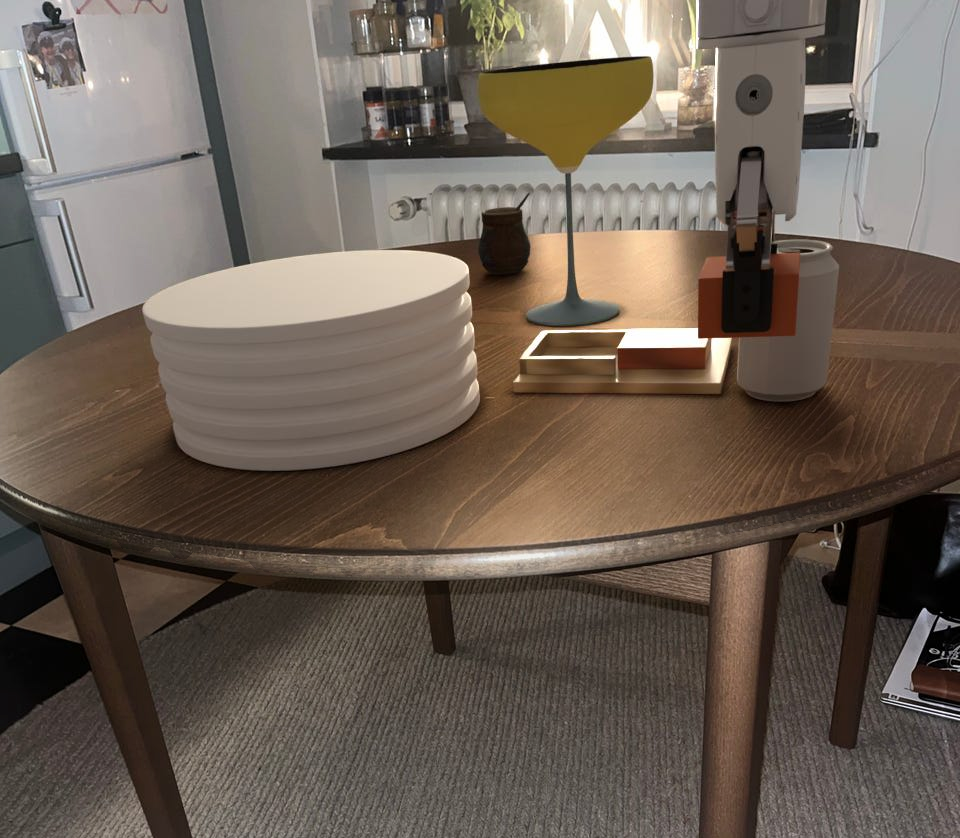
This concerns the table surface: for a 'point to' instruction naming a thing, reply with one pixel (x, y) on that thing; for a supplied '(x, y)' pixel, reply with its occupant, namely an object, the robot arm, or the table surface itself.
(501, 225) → the mate gourd
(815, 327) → the can
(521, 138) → the cocktail glass
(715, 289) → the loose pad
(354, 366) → the plate stack
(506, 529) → the table surface
